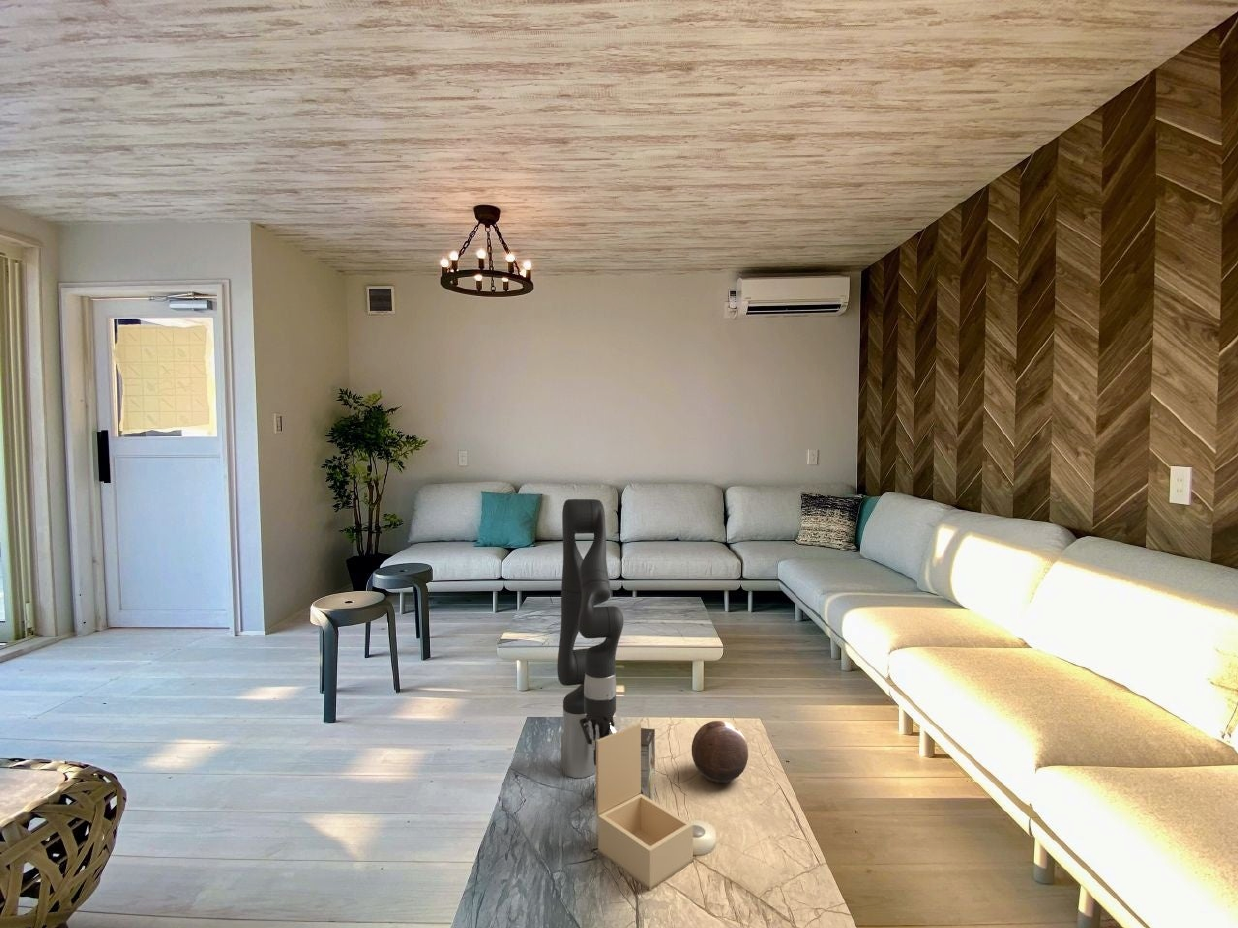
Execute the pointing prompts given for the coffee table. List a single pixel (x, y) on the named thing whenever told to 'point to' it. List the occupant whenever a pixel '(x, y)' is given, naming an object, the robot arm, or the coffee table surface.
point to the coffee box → (647, 762)
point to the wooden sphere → (719, 751)
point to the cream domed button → (703, 837)
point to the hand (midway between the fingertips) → (599, 765)
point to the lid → (618, 767)
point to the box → (645, 840)
